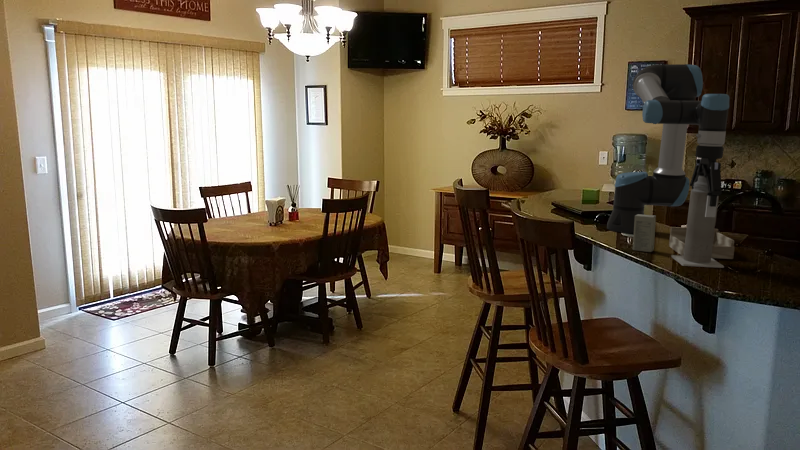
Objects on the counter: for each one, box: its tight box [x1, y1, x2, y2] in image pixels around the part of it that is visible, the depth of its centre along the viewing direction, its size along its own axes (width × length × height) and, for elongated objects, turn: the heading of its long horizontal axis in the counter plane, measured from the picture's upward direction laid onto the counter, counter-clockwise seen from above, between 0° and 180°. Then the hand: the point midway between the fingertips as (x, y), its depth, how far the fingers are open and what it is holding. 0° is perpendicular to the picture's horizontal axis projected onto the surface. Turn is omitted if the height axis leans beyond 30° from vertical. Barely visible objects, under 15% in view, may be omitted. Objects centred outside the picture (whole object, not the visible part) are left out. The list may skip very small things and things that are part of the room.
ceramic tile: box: [670, 254, 725, 269], centre depth 192 cm, size 12×12×1 cm
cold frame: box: [668, 226, 736, 260], centre depth 205 cm, size 16×16×7 cm
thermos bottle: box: [683, 172, 720, 263], centre depth 189 cm, size 8×8×28 cm
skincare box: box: [632, 214, 657, 253], centre depth 206 cm, size 6×4×12 cm
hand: (702, 213), depth 189 cm, fingers open, 13 cm apart
